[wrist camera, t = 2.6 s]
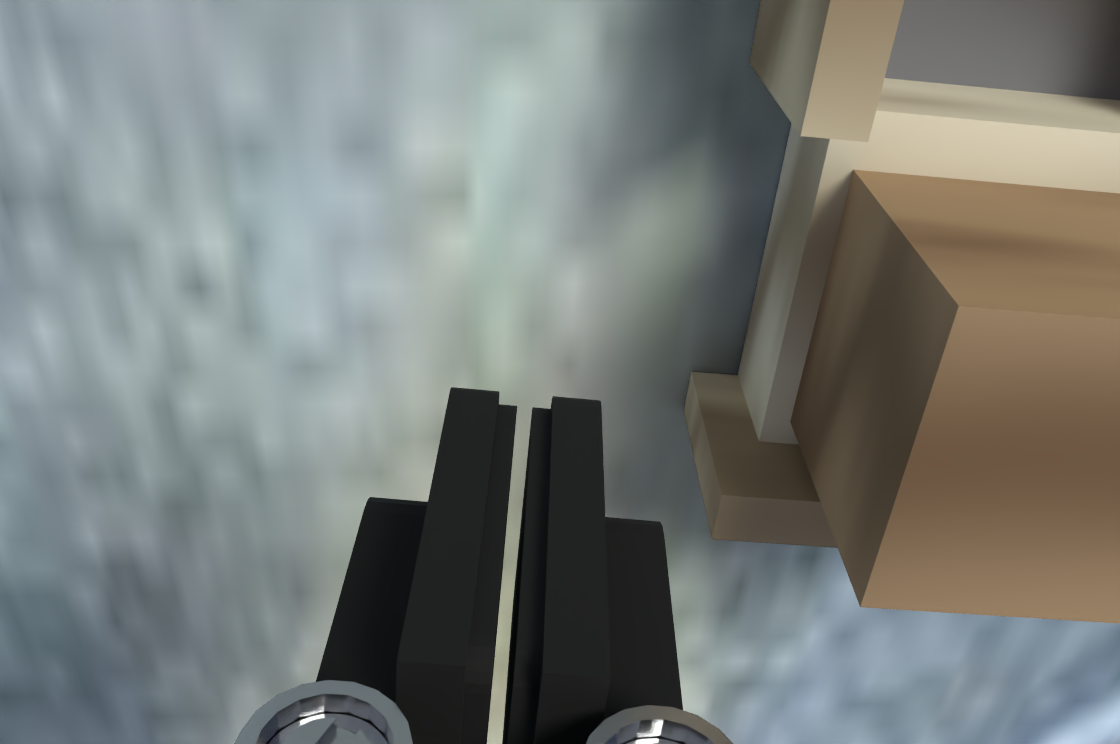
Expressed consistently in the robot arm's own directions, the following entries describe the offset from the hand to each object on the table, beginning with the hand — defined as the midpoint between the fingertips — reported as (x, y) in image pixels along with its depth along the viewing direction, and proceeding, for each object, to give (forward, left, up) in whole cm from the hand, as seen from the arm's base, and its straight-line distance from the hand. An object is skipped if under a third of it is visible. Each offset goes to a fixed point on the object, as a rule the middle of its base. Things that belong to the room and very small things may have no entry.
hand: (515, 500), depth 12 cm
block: (+4, -7, -7) cm, 10 cm away
